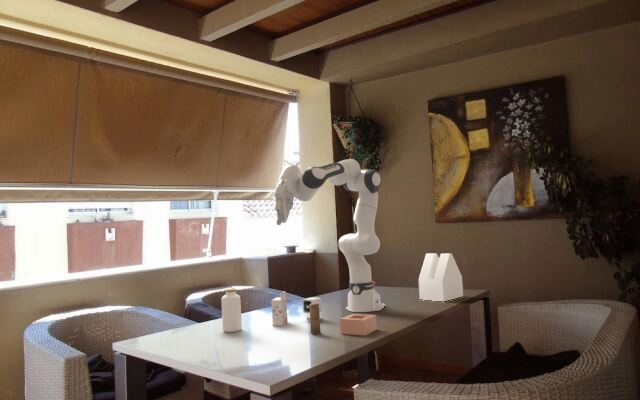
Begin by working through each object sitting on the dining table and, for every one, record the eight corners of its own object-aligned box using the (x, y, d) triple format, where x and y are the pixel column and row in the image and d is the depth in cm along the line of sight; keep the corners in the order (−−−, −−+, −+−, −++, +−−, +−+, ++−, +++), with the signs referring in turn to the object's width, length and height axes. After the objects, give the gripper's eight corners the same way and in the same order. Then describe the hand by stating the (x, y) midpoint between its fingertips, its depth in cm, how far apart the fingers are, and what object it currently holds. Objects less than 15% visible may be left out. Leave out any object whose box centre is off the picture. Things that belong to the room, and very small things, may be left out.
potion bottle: (234, 327, 222) (233, 287, 223) (245, 329, 216) (243, 289, 217) (219, 331, 216) (217, 290, 217) (229, 333, 211) (227, 291, 211)
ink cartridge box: (277, 322, 230) (276, 290, 231) (287, 322, 229) (286, 290, 230) (272, 326, 221) (270, 293, 222) (282, 326, 220) (281, 293, 221)
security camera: (303, 320, 231) (302, 299, 231) (313, 317, 236) (312, 296, 236) (313, 321, 226) (312, 299, 227) (323, 319, 232) (322, 297, 232)
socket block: (353, 327, 209) (352, 313, 209) (376, 329, 203) (376, 315, 203) (340, 333, 199) (340, 318, 199) (365, 335, 194) (364, 320, 194)
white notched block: (443, 302, 258) (440, 255, 260) (419, 300, 270) (416, 254, 271) (463, 297, 271) (460, 252, 273) (439, 295, 283) (436, 252, 284)
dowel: (314, 331, 205) (312, 303, 206) (322, 332, 203) (320, 303, 204) (309, 334, 202) (307, 304, 202) (317, 334, 200) (315, 305, 200)
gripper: (290, 178, 210) (283, 201, 201) (292, 209, 226) (286, 232, 217) (276, 176, 211) (268, 199, 202) (279, 207, 226) (272, 230, 217)
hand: (277, 216), depth 209 cm, fingers open, 8 cm apart
